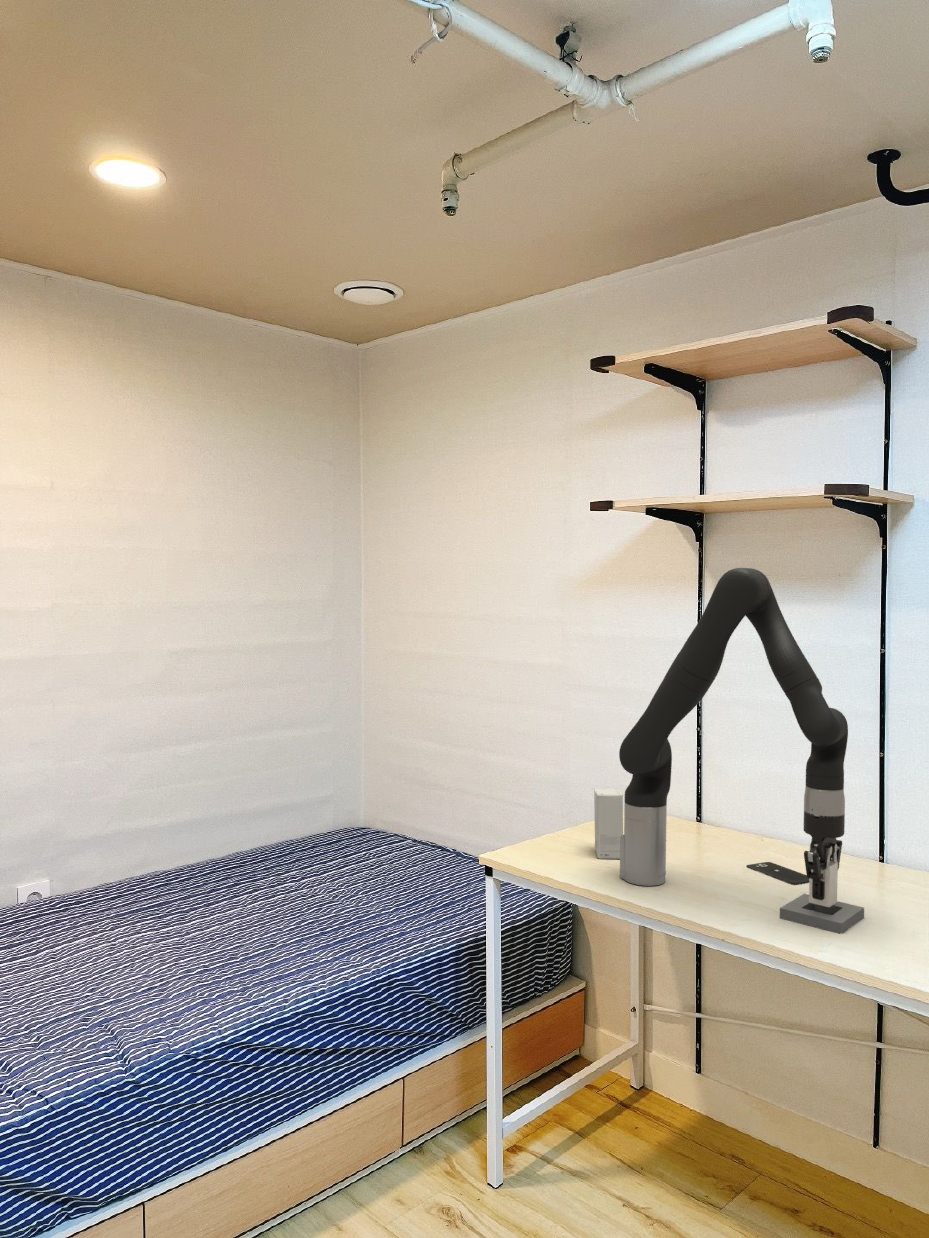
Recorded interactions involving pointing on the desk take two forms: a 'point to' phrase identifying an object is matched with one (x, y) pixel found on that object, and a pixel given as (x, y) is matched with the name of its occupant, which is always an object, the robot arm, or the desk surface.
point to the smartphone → (779, 873)
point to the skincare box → (608, 822)
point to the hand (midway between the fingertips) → (822, 895)
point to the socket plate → (822, 914)
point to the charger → (827, 886)
